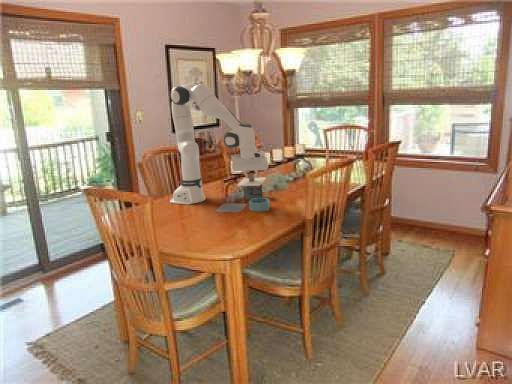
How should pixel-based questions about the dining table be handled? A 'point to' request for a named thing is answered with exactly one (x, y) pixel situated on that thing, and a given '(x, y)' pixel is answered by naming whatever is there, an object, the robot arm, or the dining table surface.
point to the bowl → (259, 204)
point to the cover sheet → (251, 181)
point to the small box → (253, 192)
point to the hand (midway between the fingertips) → (251, 178)
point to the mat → (231, 207)
